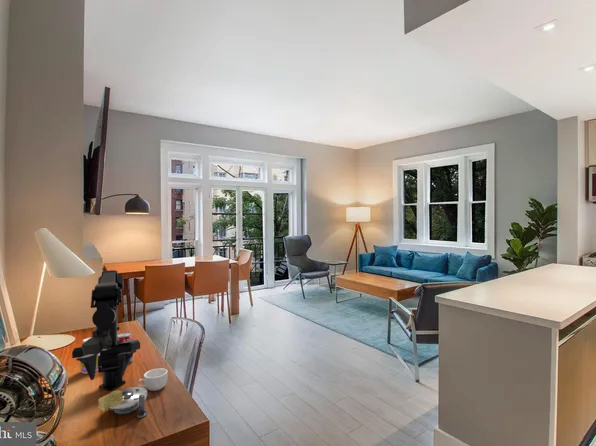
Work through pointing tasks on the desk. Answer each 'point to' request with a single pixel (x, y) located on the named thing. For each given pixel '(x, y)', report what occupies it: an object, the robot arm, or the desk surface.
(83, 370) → the supplement bottle
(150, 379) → the teacup
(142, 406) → the flanged pin
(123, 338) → the soda can
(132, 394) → the flange plate
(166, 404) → the desk surface
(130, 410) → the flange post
